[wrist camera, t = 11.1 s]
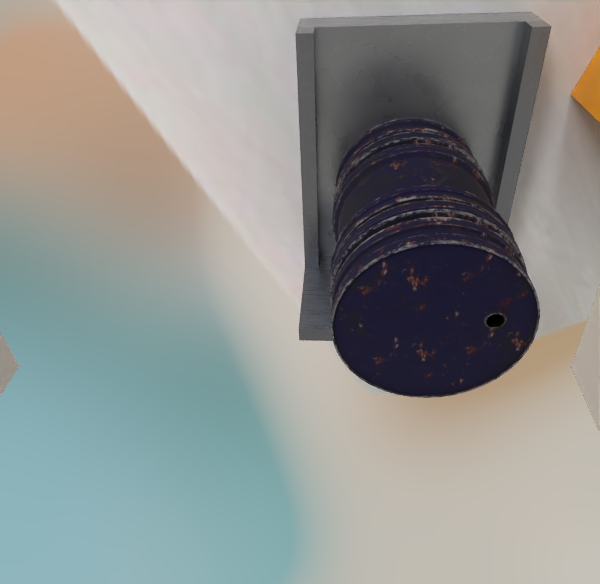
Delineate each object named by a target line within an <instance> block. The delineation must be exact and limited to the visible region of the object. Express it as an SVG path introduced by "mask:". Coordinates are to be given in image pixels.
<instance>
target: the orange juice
mask: <svg viewBox="0 0 600 584" xmlns="http://www.w3.org/2000/svg"><path fill="white" fill-rule="evenodd" d="M571 95H572V96H573V97H574V98H575V99H576V100H577V101H578V102H579V103H580V104H581V105H582V106H583V107H584V108H585V109H586V110H587V111H588V112H589V113H590V114H591V115H592V116H593V117H594V118H595V119H596V120H597V121H599V122H600V47H599V49H598V50H597V52H596V54H595V55H594V57H593V59H592V60H591V62H590V64H589V65H588V67H587V69H586V70H585V72H584V74H583V75H582V77H581V79H580V80H579V82H578V84H577V85H576V87H575V89H574V90H573V92H572V94H571Z"/></svg>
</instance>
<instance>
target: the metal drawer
mask: <svg viewBox="0 0 600 584" xmlns="http://www.w3.org/2000/svg"><path fill="white" fill-rule="evenodd" d="M550 30H551V26H550V25H549V24H547V23H546V22H544V21H543V20H542V19H540V18H539V17H538V16H536V15H535V14H533V13H532V12H514V13H480V14H447V15H413V16H380V17H346V18H313V19H300V22H299V25H298V28H297V31H296V52H297V77H298V102H299V126H300V151H301V175H302V200H303V224H304V249H305V274H304V283H303V293H302V303H301V313H300V323H299V339H300V340H321V341H333V338H332V331H331V321H332V306H331V299H330V284H331V273H330V271H331V259H332V255H333V251H334V248H335V246H336V241H335V237H334V234H333V228H332V213H333V201H334V193H335V189H336V177H337V173H338V168H339V166H340V164H341V161H342V159H343V157H344V156H345V154H346V152H347V151H348V149H349V148H350V147H351V146H352V145H353V143H354V142H355V141H356V140H357V139H358V138H360V137H361V136H362V135H363V134H364V133H366V132H367V131H369V130H371V129H372V128H374V127H376V126H378V125H380V124H383V123H385V122H388V121H392V120H396V119H402V118H423V119H428V120H433V121H435V122H438V123H441V124H443V125H445V126H447V127H448V128H450V129H452V130H453V131H455V132H456V133H457V134H458V135H459V136H460V137H461V138H462V139H463V140H464V141H465V143H466V144H467V145H468V147H469V149H470V150H471V152H472V154H473V156H474V158H475V159H476V160H477V162H478V163H479V165H480V167H481V169H482V171H483V173H484V175H485V177H486V179H487V181H488V183H489V185H490V187H491V190H492V193H493V196H494V205H495V210H496V212H498V213H499V215H500V216H501V217H502V218H503V219H504V221H505V222H506V223H507V225H508V220H509V216H510V211H511V207H512V202H513V198H514V193H515V189H516V184H517V180H518V175H519V170H520V166H521V161H522V157H523V152H524V148H525V143H526V139H527V134H528V130H529V125H530V121H531V116H532V111H533V107H534V102H535V98H536V93H537V89H538V84H539V80H540V75H541V71H542V66H543V61H544V57H545V52H546V48H547V43H548V39H549V34H550Z"/></svg>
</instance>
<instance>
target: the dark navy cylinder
mask: <svg viewBox="0 0 600 584" xmlns="http://www.w3.org/2000/svg"><path fill="white" fill-rule="evenodd" d="M332 228H333V234H334V237H335V241H336V246H335V248H334V251H333V255H332V259H331V271H330V273H331V284H330V299H331V306H332V321H331V331H332V338H333V342H334V345H335V348H336V351H337V353H338V354H339V356H340V358H341V359H342V361H343V362H344V364H345V365H346V366H347V367H348V368H349V369H350V370H351V371H352V372H353V373H354V374H355V375H357V376H358V377H359V378H360V379H362V380H363V381H365V382H367V383H368V384H370V385H372V386H374V387H377V388H379V389H381V390H384V391H387V392H390V393H394V394H397V395H403V396H409V397H424V398H427V397H443V396H449V395H456V394H459V393H463V392H467V391H470V390H473V389H476V388H478V387H481V386H483V385H485V384H487V383H489V382H491V381H493V380H495V379H497V378H498V377H500V376H501V375H503V374H504V373H506V372H507V371H508V370H509V369H510V368H512V367H513V366H514V365H515V364H516V363H517V362H518V361H519V360H520V359H521V358H522V357H523V355H524V354H525V353H526V352H527V350H528V349H529V347H530V345H531V344H532V342H533V340H534V338H535V335H536V332H537V329H538V325H539V318H540V309H539V301H538V298H537V294H536V291H535V289H534V286H533V284H532V282H531V280H530V278H529V276H528V274H527V271H526V266H525V263H524V260H523V257H522V255H521V252H520V250H519V248H518V246H517V244H516V242H515V240H514V237H513V234H512V232H511V230H510V228H509V227H508V225H507V223H506V222H505V221H504V219H503V218H502V217H501V216H500V215H499V213H498V212H496V210H495V205H494V196H493V193H492V190H491V187H490V185H489V183H488V181H487V179H486V177H485V175H484V173H483V171H482V169H481V167H480V165H479V163H478V162H477V160H476V159H475V158H474V156H473V154H472V152H471V150H470V149H469V147H468V145H467V144H466V143H465V141H464V140H463V139H462V138H461V137H460V136H459V135H458V134H457V133H456V132H455V131H453V130H452V129H450V128H448V127H447V126H445V125H443V124H441V123H438V122H435V121H433V120H428V119H423V118H402V119H396V120H392V121H388V122H385V123H383V124H380V125H378V126H376V127H374V128H372V129H371V130H369V131H367V132H366V133H364V134H363V135H362V136H361V137H360V138H358V139H357V140H356V141H355V142H354V143H353V145H352V146H351V147H350V148H349V149H348V151H347V152H346V154H345V156H344V157H343V159H342V161H341V164H340V166H339V168H338V173H337V177H336V189H335V193H334V201H333V213H332Z"/></svg>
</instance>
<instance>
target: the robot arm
mask: <svg viewBox="0 0 600 584" xmlns="http://www.w3.org/2000/svg"><path fill="white" fill-rule="evenodd" d="M18 367H19V365H18V363H17V361H16V359H15V358H14V356H13V354H12V353H11V351H10V349H9V347H8V345H7V344H6V342H5V340H4V338H3V337H2V335H1V333H0V396H1V394H2V392H3V391H4V389H5V388H6V386H7V384H8V383H9V381H10V380H11V378H12V377H13V375H14V373H15V372H16V370H17V369H18ZM571 368H572V370H573V372H574V375H575V377H576V379H577V381H578V384H579V386H580V389H581V391H582V393H583V396H584V398H585V400H586V402H587V405H588V407H589V409H590V412H591V414H592V416H593V419H594V421H595V423H596V426H597V428H598V430H599V432H600V286H599V289H598V291H597V294H596V297H595V300H594V303H593V305H592V308H591V311H590V314H589V317H588V320H587V322H586V325H585V328H584V331H583V334H582V337H581V339H580V342H579V345H578V348H577V351H576V353H575V356H574V359H573V362H572V365H571Z"/></svg>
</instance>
